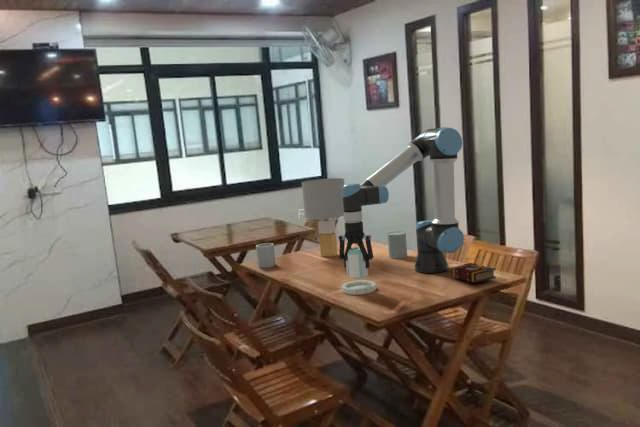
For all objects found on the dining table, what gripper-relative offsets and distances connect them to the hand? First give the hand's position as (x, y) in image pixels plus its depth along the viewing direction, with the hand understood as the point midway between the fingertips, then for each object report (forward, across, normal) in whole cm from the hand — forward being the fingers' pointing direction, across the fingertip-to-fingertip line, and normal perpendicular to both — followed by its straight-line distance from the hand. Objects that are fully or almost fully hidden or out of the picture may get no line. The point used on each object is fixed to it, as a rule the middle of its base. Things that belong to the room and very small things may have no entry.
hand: (357, 275), depth 233 cm
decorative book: (+7, -42, -25) cm, 50 cm away
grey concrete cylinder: (+6, +2, -61) cm, 61 cm away
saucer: (+6, 0, 0) cm, 6 cm away
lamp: (+6, +40, -58) cm, 71 cm away
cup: (+7, +64, -33) cm, 73 cm away
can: (+1, 0, 0) cm, 1 cm away
